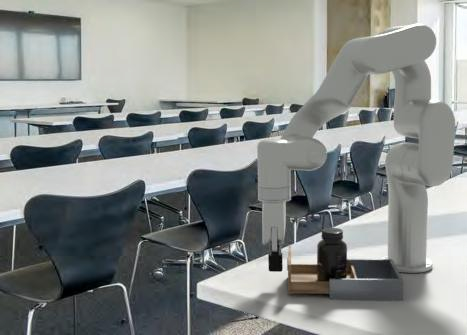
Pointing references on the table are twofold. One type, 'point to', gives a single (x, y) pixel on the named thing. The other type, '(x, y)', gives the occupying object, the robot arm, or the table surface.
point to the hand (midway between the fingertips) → (275, 270)
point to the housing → (369, 281)
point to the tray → (308, 277)
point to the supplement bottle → (331, 255)
